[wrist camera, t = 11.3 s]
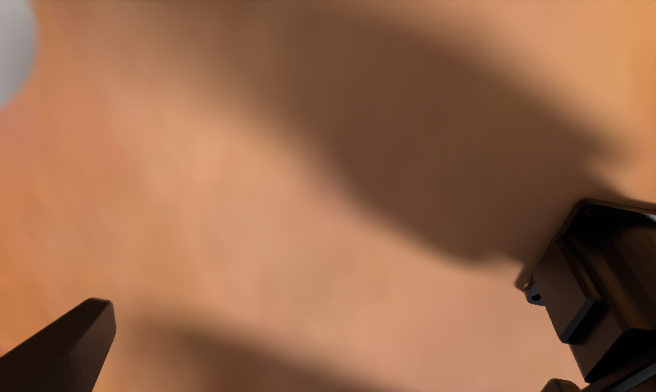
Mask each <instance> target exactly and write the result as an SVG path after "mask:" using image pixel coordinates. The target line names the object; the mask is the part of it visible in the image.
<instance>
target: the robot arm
mask: <svg viewBox="0 0 656 392" xmlns="http://www.w3.org/2000/svg"><path fill="white" fill-rule="evenodd" d="M588 208H591V209H590V210H589V211H588V212H584V211H585V210H586V209H588ZM524 294H525V297H526V299H527V301H528V302H529V303H531V304H535V305H540V306H545V307H546V310H547V312H548V314H549V317H550V319H551V321H552V324H553V326H554V328H555V331H556V333H557V336H558V337H559V339H560V341H561V342H562V343H566V344H569V346H570V349H571V351H572V353H573V355H574V358H575V360H576V362H577V364H578V367H579V369H580V371H581V374H582V376H583V378H584V380H585V382H587V383H590V384H589V385H588V386H586V387H584V388H583V389H581V390H580V389H579V387H578V386H577V385H576V384H574V383H573V382H571V381H568V380H562V379H556V378H553V379H550V380H549V381H548V382H547V384H546V385H545V386H544V388H543V389H542V390H541V392H656V211H652V210H647V209H641V208H636V207H631V206H625V205H620V204H615V203H610V202H604V201H599V200H594V199H584V200H581V201H579V202H578V203H577V204H576V205H575V206H574V208H573V210H572V211H571V213H570V215H569V216H568V218H567V220H566V221H565V223H564V225H563V227H562V228H561V230H560V232H559V233H558V235H557V237H556V238H554V239H553V241H552V242H551V244H550V246H549V247H548V249H547V251H546V252H545V254H544V256H543V258H542V259H541V261H540V263H539V264H538V266H537V268H536V270H535V271H534V273H533V277H532V279H531V281H530V283H529V284H528V286H527V288H526V289H525V292H524ZM535 294H537V295H535ZM115 333H116V322H115V315H114V308H113V303H112V302H111V301H110V300H106V299H100V298H89V299H87V300H85V301H83V302H82V303H80V304H79V305H77V306H76V307H74V308H73V309H72V310H70V311H69V312H67V313H66V314H64V315H63V316H61V317H60V318H58V319H57V320H55V321H54V322H52V323H51V324H49V325H48V326H46V327H45V328H43V329H42V330H40V331H39V332H37V333H36V334H34V335H33V336H31V337H30V338H28V339H27V340H25V341H24V342H22V343H21V344H19V345H18V346H16V347H15V348H13V349H12V350H11V351H9V352H8V353H6V354H5V355H3V356H2V357H0V392H92V390H93V388H94V385H95V383H96V381H97V378H98V376H99V373H100V371H101V369H102V366H103V364H104V361H105V359H106V357H107V354H108V352H109V349H110V347H111V345H112V342H113V340H114V337H115Z"/></svg>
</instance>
